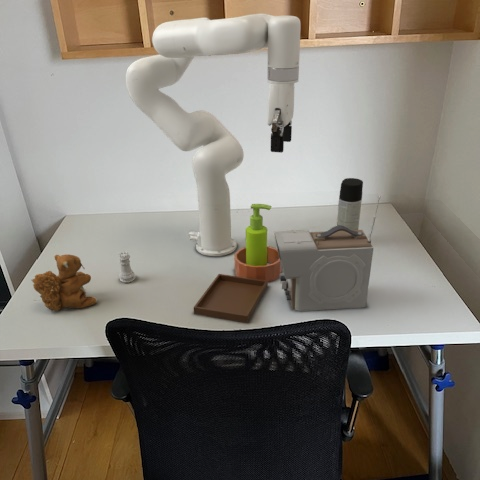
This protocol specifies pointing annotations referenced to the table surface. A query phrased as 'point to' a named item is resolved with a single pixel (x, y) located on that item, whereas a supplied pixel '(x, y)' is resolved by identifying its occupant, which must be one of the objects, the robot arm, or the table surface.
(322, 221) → the table surface
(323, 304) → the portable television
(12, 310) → the table surface
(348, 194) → the spray can
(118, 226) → the table surface
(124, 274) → the rook chess piece
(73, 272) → the stuffed squirrel
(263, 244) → the soap dispenser
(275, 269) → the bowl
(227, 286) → the tray
